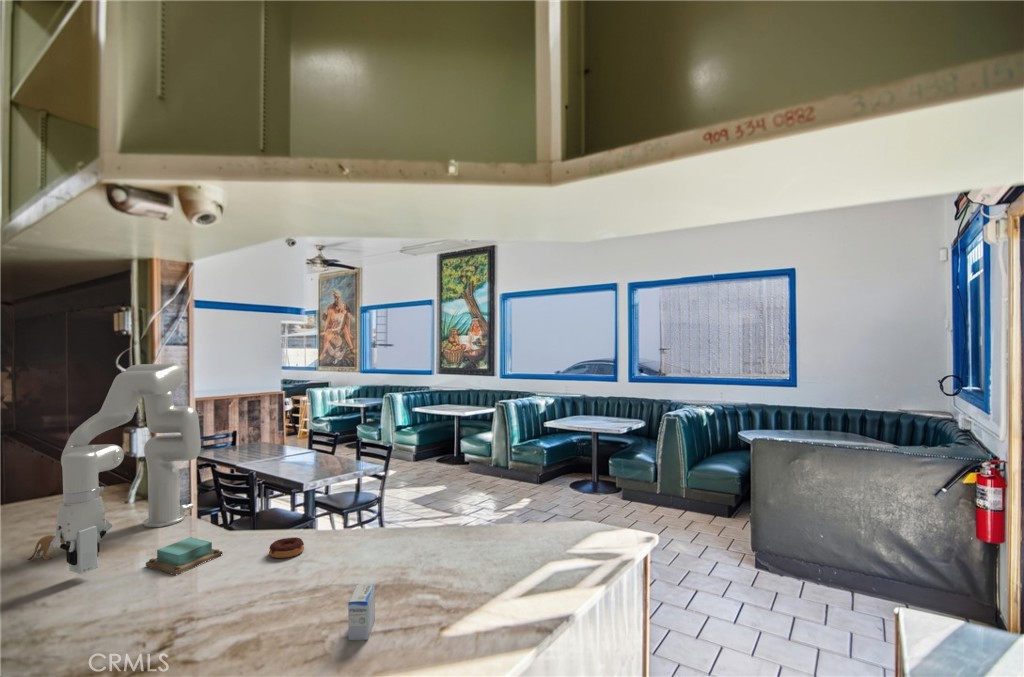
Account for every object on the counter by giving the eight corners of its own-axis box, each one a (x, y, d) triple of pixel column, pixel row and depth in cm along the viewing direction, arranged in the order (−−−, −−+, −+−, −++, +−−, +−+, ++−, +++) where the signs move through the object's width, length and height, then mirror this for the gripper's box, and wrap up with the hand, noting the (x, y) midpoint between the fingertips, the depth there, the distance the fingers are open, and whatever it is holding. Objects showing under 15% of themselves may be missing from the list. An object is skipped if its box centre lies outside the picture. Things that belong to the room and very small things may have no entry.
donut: (310, 547, 159) (310, 535, 159) (293, 561, 150) (293, 548, 149) (280, 546, 160) (280, 534, 160) (262, 560, 151) (262, 547, 150)
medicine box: (356, 620, 117) (355, 584, 117) (375, 619, 118) (375, 583, 118) (348, 641, 109) (347, 602, 109) (368, 640, 110) (368, 601, 110)
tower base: (193, 547, 159) (192, 533, 159) (222, 555, 154) (222, 540, 154) (145, 566, 147) (145, 551, 147) (176, 575, 141) (175, 559, 141)
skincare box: (98, 568, 140) (97, 526, 140) (80, 575, 136) (79, 532, 136) (86, 563, 143) (85, 522, 142) (68, 570, 139) (67, 528, 139)
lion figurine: (91, 546, 162) (90, 518, 162) (90, 551, 158) (90, 523, 157) (28, 559, 152) (28, 530, 152) (26, 565, 148) (25, 535, 148)
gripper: (108, 485, 148) (109, 545, 149) (35, 504, 133) (38, 571, 133) (123, 488, 145) (124, 550, 146) (50, 508, 130) (53, 576, 130)
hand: (83, 559), depth 139 cm, fingers closed on skincare box, 4 cm apart
